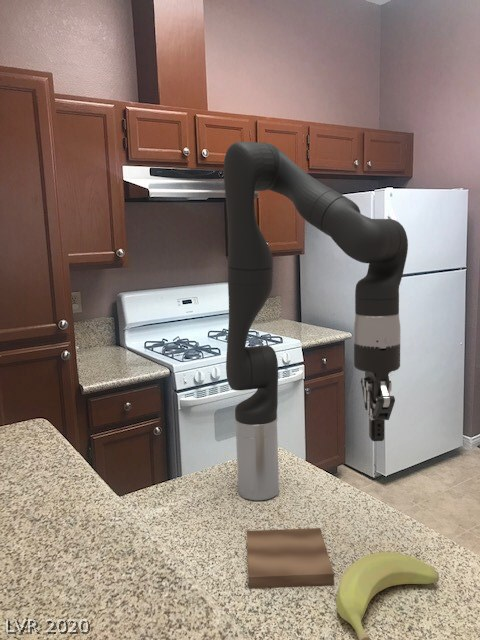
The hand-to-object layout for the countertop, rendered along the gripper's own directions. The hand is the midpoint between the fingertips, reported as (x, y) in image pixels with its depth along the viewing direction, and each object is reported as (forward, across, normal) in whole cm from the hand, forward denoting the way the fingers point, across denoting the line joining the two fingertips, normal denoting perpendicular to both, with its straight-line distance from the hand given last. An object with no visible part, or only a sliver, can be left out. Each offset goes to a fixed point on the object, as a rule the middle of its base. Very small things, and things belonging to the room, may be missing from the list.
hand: (376, 439), depth 90 cm
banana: (+19, +4, +2) cm, 20 cm away
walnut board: (+22, 0, -16) cm, 27 cm away
